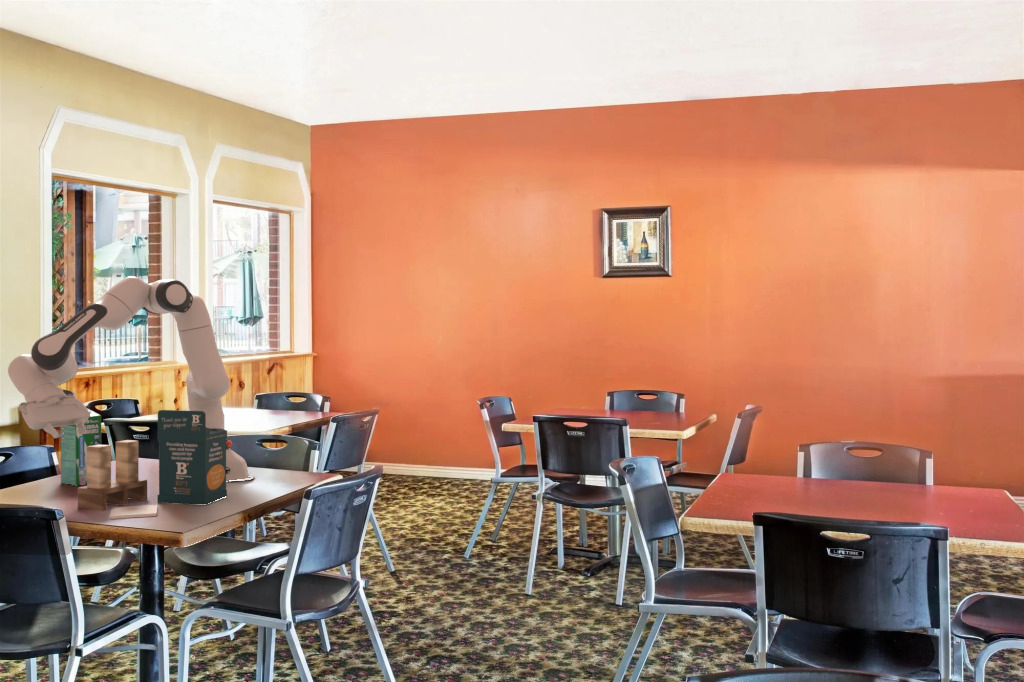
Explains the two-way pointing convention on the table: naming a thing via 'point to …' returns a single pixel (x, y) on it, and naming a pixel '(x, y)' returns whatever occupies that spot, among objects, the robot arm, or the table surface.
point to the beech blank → (127, 461)
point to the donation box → (190, 458)
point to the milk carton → (78, 449)
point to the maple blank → (98, 466)
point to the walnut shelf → (111, 494)
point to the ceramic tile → (133, 511)
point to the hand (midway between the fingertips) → (71, 434)
